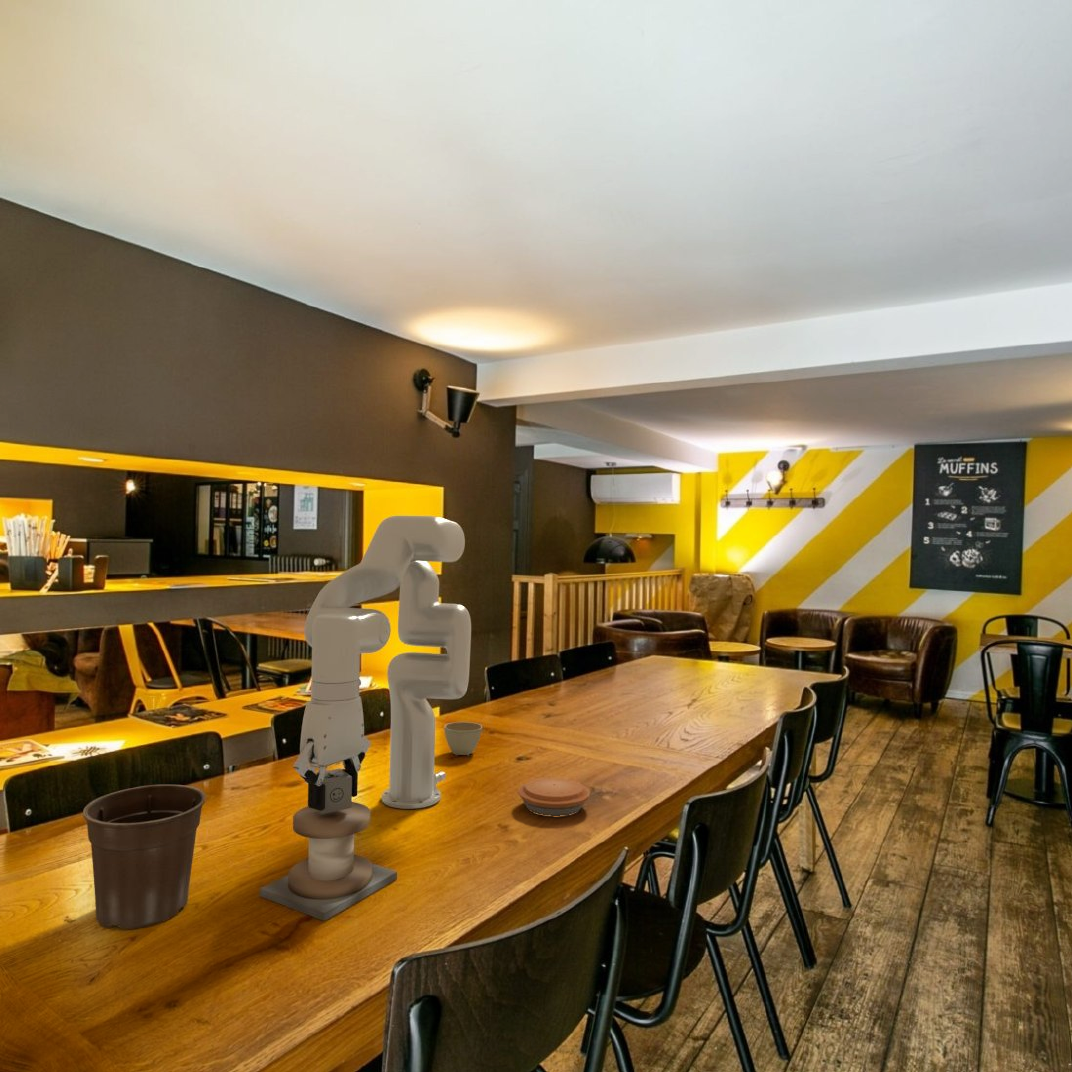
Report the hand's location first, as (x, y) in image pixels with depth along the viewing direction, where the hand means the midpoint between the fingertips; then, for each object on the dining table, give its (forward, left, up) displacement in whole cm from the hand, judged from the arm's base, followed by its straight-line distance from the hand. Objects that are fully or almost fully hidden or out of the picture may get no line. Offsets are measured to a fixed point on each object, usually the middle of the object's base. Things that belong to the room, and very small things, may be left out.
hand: (333, 800), depth 118 cm
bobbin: (0, 0, -14) cm, 14 cm away
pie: (-51, +13, -14) cm, 54 cm away
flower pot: (-72, -26, -14) cm, 78 cm away
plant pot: (+20, -18, -14) cm, 30 cm away
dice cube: (0, -1, -1) cm, 1 cm away
